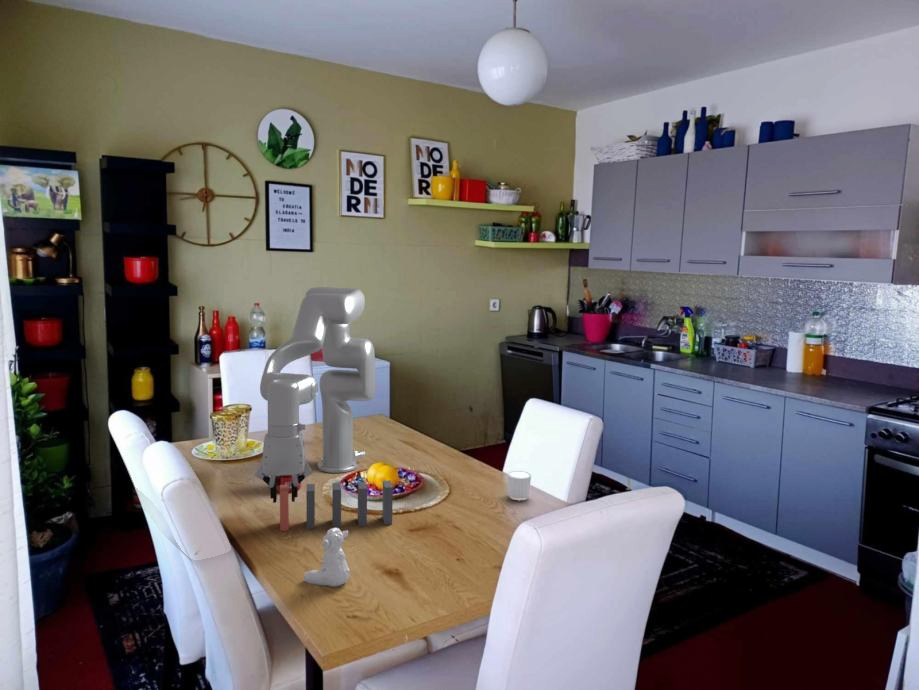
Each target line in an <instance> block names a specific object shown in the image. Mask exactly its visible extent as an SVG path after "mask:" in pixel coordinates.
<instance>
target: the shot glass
mask: <svg viewBox="0 0 919 690" xmlns="http://www.w3.org/2000/svg"><path fill="white" fill-rule="evenodd" d="M531 481H532V474H531V473H530V472H527V471H525V470H524V471H523V470H512V471H508V473H507V490H508V497H509V496H511V497H514V498H527V497H528V498H529V496H528V495H529V494H530V488H531Z"/></svg>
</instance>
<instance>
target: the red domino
mask: <svg viewBox="0 0 919 690" xmlns="http://www.w3.org/2000/svg"><path fill="white" fill-rule="evenodd" d="M289 506H290V505H289V493H288V485H280V493H279V524H280V525H279V527H280V529H279V531H280V532H281V531H289V528H290V527H289V526H290V525H289V524H290V516H289V514H290V512H289V509H290V508H289Z"/></svg>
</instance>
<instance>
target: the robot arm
mask: <svg viewBox="0 0 919 690" xmlns="http://www.w3.org/2000/svg"><path fill="white" fill-rule="evenodd" d="M365 299H366V298H365V295H364V293H363V292H362V290H361V289H358V288H351V287H348V288H347V287H332V286H331V287H329V286H316V287H311V288H309V289H308V290H307V291H306V293H305V296H304V297H303V298H302V301H301V304H300V305H299V306H300V307H299V309H298V312H297V317H296V321H295V323H294V328H293V330H292V335H291V337H290V338H288V339H287V340H286V341H284V342H283V343H282V344H281V345H279V346H278V347H277V348H276V349H275V350H274V351H273V352H272V353H271V355H270V356H269V357H268V359H267V361H266V363H265V365H264V368H263V371H262V376H261V380H260V384H259V391H260V392H259V393H260V395H261V397H262V398H263V400H265V401H267V433H265V434H264V438H263V447H262V462H261V463H260V465H259V467H258V468H257V470H256V471H255V474H254V476H255V477H257V478H258V479H260V480H262V481H263V482H264V483H265V484H267V485H268V487H269V491H270V493H269V495H270V496H269V497H270V499H272V504H275V503H277V500H278V495H277V484H276V482H275V477H276V476H280V475H292V479H293V483H292V493H291V502H292V503H295V499H296V498H298V491H299V490H298V485H299V483H300V482H301V483H302V481H304V480H305V479H307V477H309V476H311V475H312V474H313V469H312V468H311V467H310V465H309V464H308V463H307V461H306V456H305V455H306V454H305V453H306V452H305V443H304V442H305V441H304V435H303V433H302V432H301V431H305V430H306V424H302V423H301V422H300V406H302V405H307V404H309V403H311V402H312V401H314V400H315V398H316V397H317V395H318V393H319V391H320V398H321V405H322V409H321V410H322V459H321V460H319V461H318V462H317V469H318V470H320V471H321V472H325V473H329V474H330V473H331V474H332V473H333V474H335V473H336V474H340V473H347V472H350V471H351V472H352V471H354V470H355V469H357V468H358V462H357V460H358V459H359V458H365V457H366V452H365V451H364V450H362V451H358V450H353V449H354V448H353V447H354V444H353V442H354V441H353V440H354V439H353V438H354V437H353V436H354V434H353V433H354V413H353V410H352V407H351V406H350V404H349V403H348V402H369V401H371V400H373V399H374V397H375V394H376V390H377V389H376V384H377V383H376V381H377V380H376V357H375V347H374V344H373V342H372V341H371V340H370V339H367V338H362V337H351V335H350V324H352V323H353V322H354V321H356V320H357V319H358V318H360V317H361V316H362V314H363V312H364V310H365V306H366V305H365V304H366V300H365ZM321 349H322V359H323V363H324V364H325V365H326V366H327V367H330V368H339V369H330V370H329V369H328V370H326V371H324V372H323V373H322V374H321V376H320V378H319V383H318V382H317V379H316V378H315V377H314V376H312V375H309V374H303V373H288V372H287V373H286V372H282V370H283V368H285V367H286V366H287V365H289V364H290V363H292V362H294V361H297V360H299V359H302V358H304V357H307V356H310V355H312V354H315V353H317V352H318V351H320V350H321ZM340 368H341V369H340ZM350 369H356V370H350ZM318 384H319V386H318ZM298 474H300V475H299V476H298Z"/></svg>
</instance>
